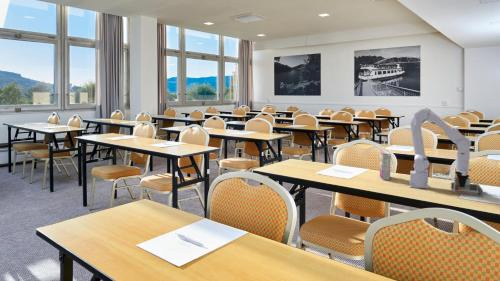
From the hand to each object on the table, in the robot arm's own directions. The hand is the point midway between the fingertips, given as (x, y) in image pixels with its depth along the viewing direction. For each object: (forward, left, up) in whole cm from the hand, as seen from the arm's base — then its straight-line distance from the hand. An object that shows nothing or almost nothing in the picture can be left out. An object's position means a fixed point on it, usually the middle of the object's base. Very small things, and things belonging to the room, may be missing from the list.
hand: (461, 186), depth 199 cm
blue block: (0, 0, -2) cm, 2 cm away
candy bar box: (-39, +20, -4) cm, 45 cm away
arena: (+3, +1, -3) cm, 4 cm away
